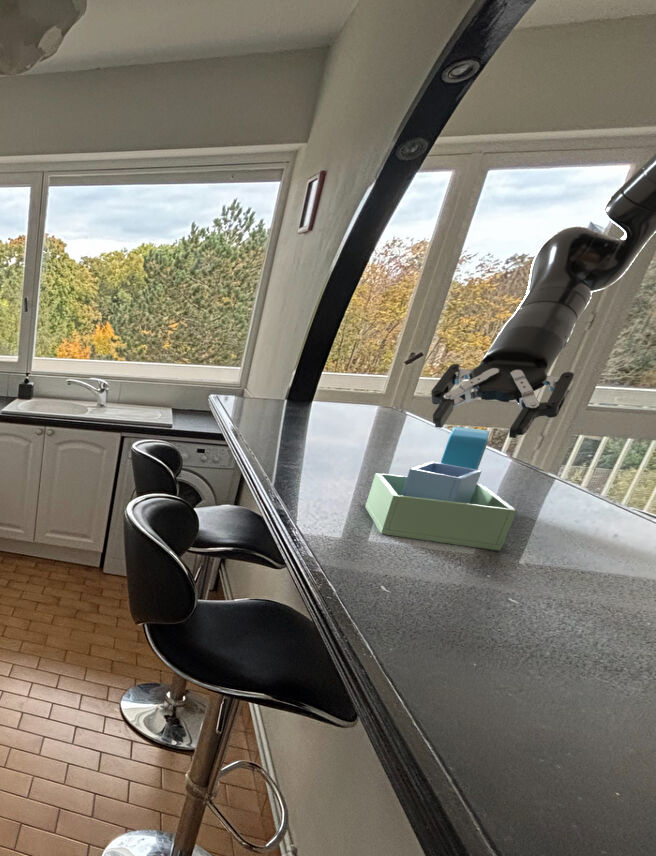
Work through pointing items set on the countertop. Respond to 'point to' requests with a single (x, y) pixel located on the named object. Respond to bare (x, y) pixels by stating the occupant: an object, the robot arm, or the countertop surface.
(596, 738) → the countertop surface
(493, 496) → the green tote
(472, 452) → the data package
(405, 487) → the small bin
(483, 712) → the countertop surface
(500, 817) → the countertop surface
